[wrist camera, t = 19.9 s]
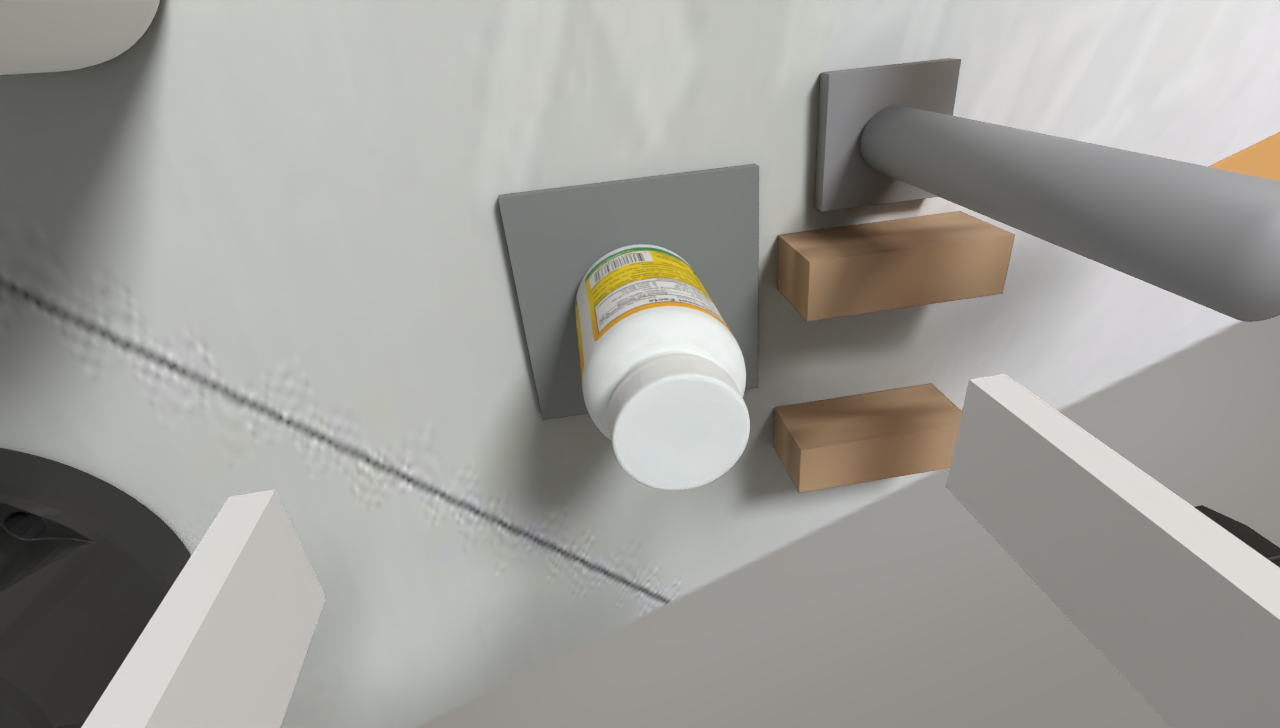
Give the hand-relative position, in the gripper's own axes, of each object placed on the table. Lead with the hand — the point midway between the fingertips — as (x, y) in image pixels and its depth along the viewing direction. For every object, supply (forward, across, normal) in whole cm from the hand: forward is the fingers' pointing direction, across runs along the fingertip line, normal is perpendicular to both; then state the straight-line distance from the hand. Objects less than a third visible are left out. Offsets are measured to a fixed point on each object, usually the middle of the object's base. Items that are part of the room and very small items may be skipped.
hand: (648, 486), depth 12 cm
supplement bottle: (+14, +2, -2) cm, 15 cm away
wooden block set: (+14, +12, -3) cm, 19 cm away
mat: (+15, +2, -2) cm, 15 cm away
